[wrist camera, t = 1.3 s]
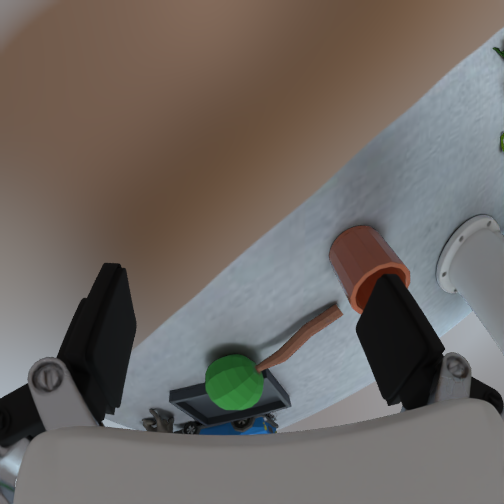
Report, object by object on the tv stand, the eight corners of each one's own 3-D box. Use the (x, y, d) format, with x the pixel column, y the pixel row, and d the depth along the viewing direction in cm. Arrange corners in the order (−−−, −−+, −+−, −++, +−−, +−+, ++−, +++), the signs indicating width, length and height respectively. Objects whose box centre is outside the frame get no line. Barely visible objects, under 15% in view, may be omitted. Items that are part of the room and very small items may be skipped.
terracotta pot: (377, 215, 28) (409, 251, 22) (384, 261, 31) (410, 299, 26) (322, 238, 29) (345, 279, 23) (335, 282, 32) (355, 324, 27)
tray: (265, 365, 40) (267, 377, 38) (289, 396, 46) (291, 406, 45) (169, 391, 42) (168, 402, 40) (206, 417, 49) (206, 427, 47)
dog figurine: (153, 405, 45) (151, 441, 39) (182, 413, 47) (182, 449, 41) (132, 423, 49) (130, 454, 43) (157, 430, 52) (156, 460, 46)
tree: (313, 274, 36) (193, 362, 38) (337, 306, 29) (192, 404, 31) (341, 312, 38) (229, 389, 41) (366, 345, 31) (234, 429, 33)
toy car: (278, 420, 52) (286, 463, 44) (198, 437, 55) (199, 477, 47) (260, 405, 47) (267, 455, 39) (173, 424, 50) (172, 468, 42)
